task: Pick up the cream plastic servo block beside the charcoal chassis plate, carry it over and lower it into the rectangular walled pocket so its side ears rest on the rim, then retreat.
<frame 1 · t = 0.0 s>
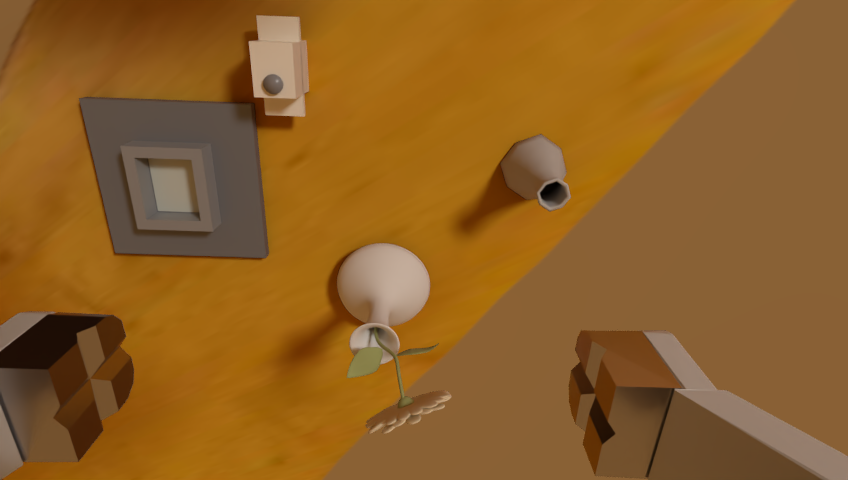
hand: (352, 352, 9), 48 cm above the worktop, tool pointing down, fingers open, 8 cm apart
flask: (532, 166, 57), on the worktop
servo block: (288, 65, 53), on the worktop
chassis plate: (183, 180, 58), on the worktop
flower in vase: (391, 278, 63), on the worktop
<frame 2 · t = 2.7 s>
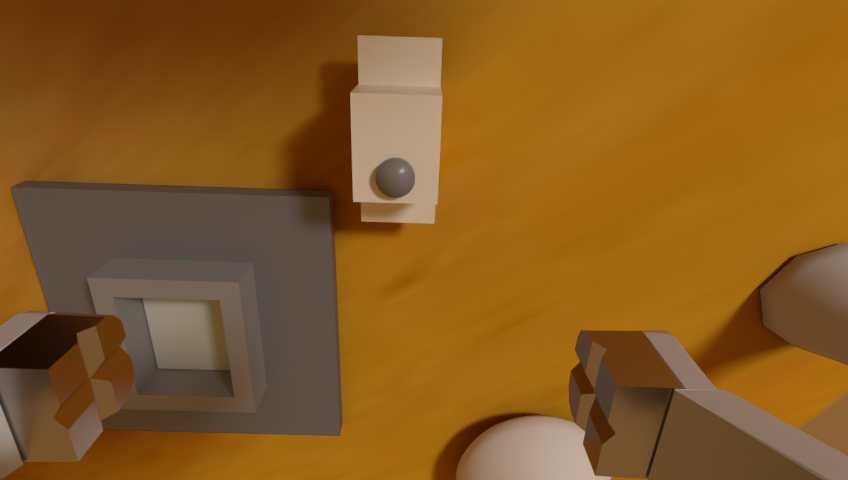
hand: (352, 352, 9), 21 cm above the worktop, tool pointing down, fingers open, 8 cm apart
flask: (811, 292, 33), on the worktop
servo block: (401, 125, 28), on the worktop
chassis plate: (202, 315, 33), on the worktop
flower in vase: (539, 456, 39), on the worktop
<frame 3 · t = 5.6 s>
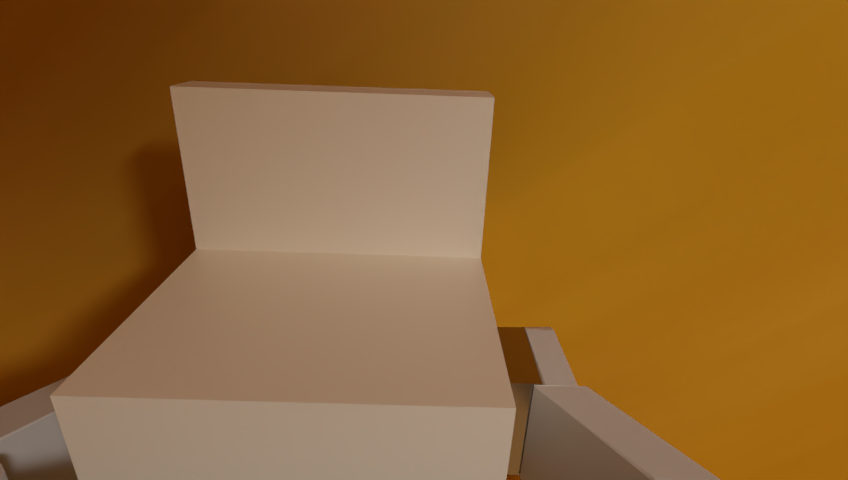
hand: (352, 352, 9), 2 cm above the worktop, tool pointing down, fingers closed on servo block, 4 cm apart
servo block: (364, 298, 11), on the worktop, touching gripper
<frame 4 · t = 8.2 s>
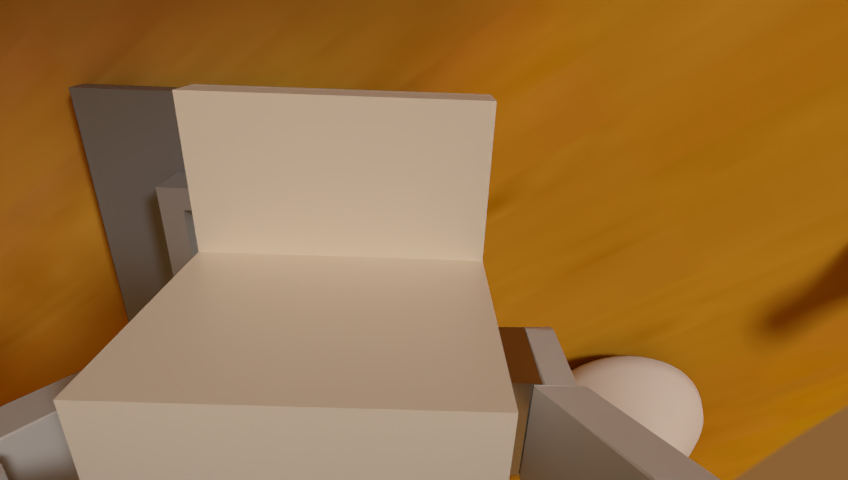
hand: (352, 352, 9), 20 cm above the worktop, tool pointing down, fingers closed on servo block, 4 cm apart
servo block: (366, 300, 11), point 18 cm above the worktop, touching gripper
chassis plate: (269, 242, 31), on the worktop
flower in vase: (619, 403, 36), on the worktop
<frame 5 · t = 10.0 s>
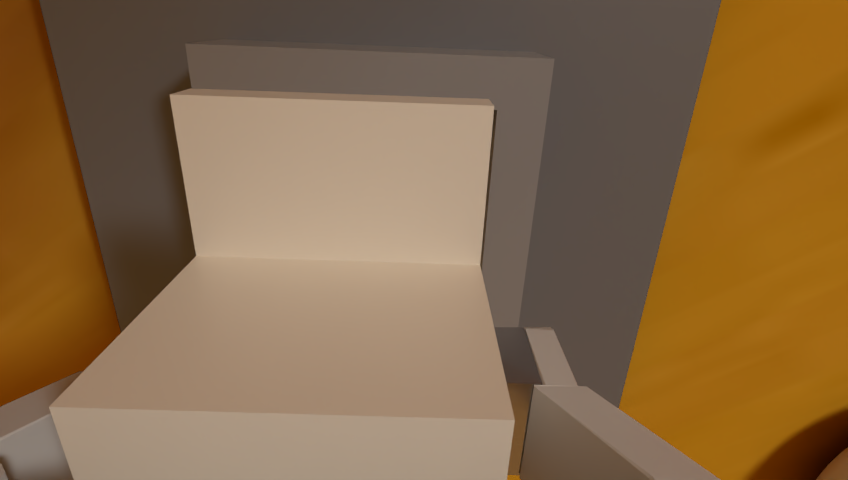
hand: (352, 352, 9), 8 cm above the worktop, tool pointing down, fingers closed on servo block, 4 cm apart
servo block: (364, 303, 11), point 7 cm above the worktop, touching gripper
chassis plate: (382, 194, 17), on the worktop
when the fingers open (4 cm above the worktop, at t = 11.2 s): servo block drops 1 cm, resting on chassis plate.
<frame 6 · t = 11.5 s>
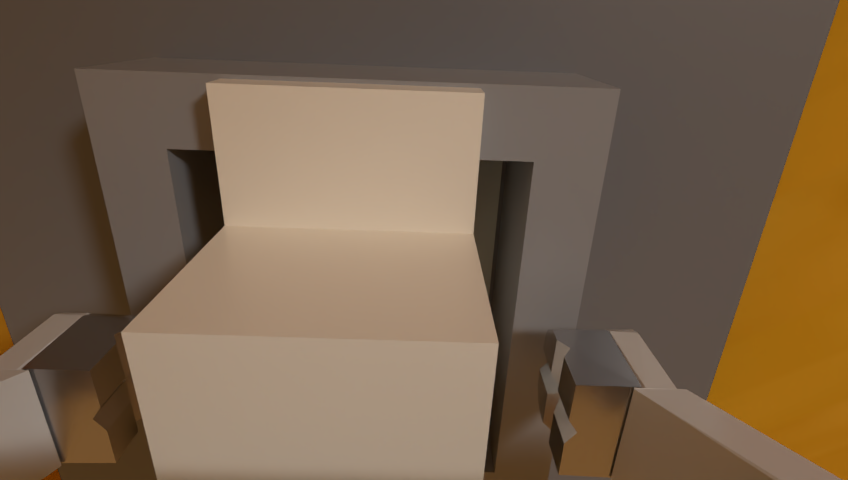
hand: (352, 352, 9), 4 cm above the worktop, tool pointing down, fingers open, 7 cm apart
servo block: (369, 279, 12), point 1 cm above the worktop, touching chassis plate
chassis plate: (373, 253, 13), on the worktop
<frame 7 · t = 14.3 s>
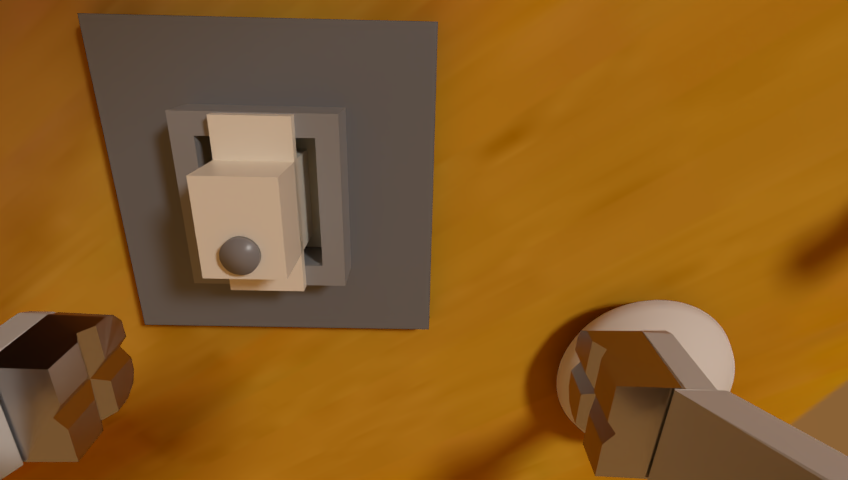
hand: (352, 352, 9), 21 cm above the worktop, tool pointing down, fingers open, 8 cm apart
servo block: (274, 192, 28), point 1 cm above the worktop, touching chassis plate
chassis plate: (280, 184, 30), on the worktop
flower in vase: (644, 358, 35), on the worktop
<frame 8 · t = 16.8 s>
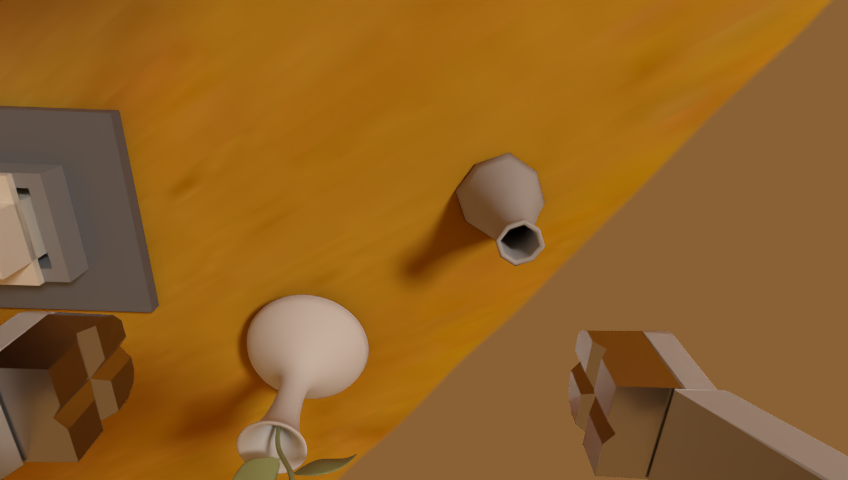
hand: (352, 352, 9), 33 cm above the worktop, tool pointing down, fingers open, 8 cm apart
flask: (499, 195, 43), on the worktop
servo block: (25, 218, 42), point 1 cm above the worktop, touching chassis plate
chassis plate: (35, 212, 43), on the worktop
flower in vase: (320, 335, 49), on the worktop
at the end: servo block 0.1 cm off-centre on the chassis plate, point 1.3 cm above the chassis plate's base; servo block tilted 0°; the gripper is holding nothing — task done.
